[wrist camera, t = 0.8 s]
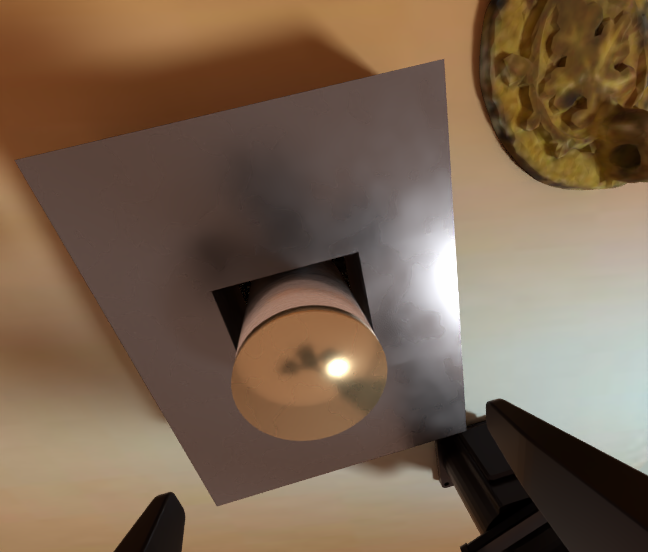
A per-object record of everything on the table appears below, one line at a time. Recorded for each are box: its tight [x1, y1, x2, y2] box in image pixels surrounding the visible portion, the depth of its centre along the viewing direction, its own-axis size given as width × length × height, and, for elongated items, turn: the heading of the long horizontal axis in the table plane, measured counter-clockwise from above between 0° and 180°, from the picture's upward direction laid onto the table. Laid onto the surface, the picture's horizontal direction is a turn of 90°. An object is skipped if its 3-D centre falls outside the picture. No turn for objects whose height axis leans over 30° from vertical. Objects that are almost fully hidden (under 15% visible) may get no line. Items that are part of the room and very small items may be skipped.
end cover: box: [231, 260, 388, 441], centre depth 15 cm, size 6×6×8 cm
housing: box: [15, 59, 466, 506], centre depth 17 cm, size 20×16×5 cm
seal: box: [480, 0, 648, 190], centre depth 16 cm, size 9×5×15 cm
